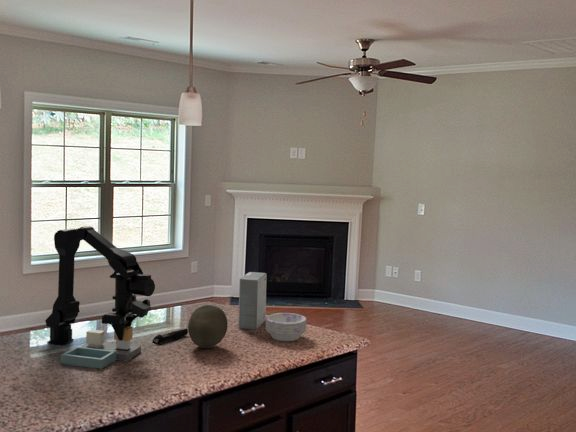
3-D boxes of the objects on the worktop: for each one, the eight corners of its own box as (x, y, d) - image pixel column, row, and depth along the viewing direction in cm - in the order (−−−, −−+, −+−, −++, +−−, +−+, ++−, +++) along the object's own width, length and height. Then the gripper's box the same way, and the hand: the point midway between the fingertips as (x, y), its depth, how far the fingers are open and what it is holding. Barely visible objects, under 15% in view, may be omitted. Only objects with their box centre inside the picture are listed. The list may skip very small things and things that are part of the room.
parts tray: (61, 364, 195) (61, 354, 195) (76, 355, 204) (77, 346, 203) (101, 369, 192) (102, 359, 192) (116, 360, 201) (116, 351, 200)
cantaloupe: (178, 347, 217) (179, 305, 215) (209, 339, 227) (211, 299, 226) (204, 357, 207) (205, 313, 206) (235, 349, 218) (237, 307, 216)
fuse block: (76, 354, 204) (76, 348, 204) (92, 346, 214) (92, 340, 214) (126, 360, 200) (126, 354, 200) (140, 351, 210) (140, 346, 210)
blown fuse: (113, 348, 205) (114, 327, 204) (118, 345, 208) (118, 324, 207) (127, 350, 204) (128, 328, 203) (132, 347, 207) (132, 326, 206)
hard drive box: (247, 318, 259) (249, 271, 257) (265, 320, 258) (267, 272, 256) (237, 328, 244) (239, 278, 242) (256, 330, 243) (258, 279, 241)
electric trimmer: (190, 337, 231) (190, 329, 231) (158, 345, 219) (159, 337, 218) (183, 335, 233) (183, 327, 233) (151, 343, 221) (151, 334, 220)
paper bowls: (258, 340, 230) (259, 319, 229) (274, 330, 244) (275, 310, 243) (297, 346, 224) (297, 324, 223) (311, 336, 238) (312, 315, 237)
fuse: (86, 352, 207) (86, 331, 207) (90, 349, 210) (91, 329, 210) (99, 353, 206) (100, 333, 206) (104, 351, 209) (104, 330, 209)
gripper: (133, 300, 193) (132, 349, 195) (158, 289, 212) (157, 334, 213) (101, 297, 196) (100, 345, 197) (128, 286, 214) (127, 330, 215)
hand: (123, 338), depth 206 cm, fingers closed on blown fuse, 3 cm apart
